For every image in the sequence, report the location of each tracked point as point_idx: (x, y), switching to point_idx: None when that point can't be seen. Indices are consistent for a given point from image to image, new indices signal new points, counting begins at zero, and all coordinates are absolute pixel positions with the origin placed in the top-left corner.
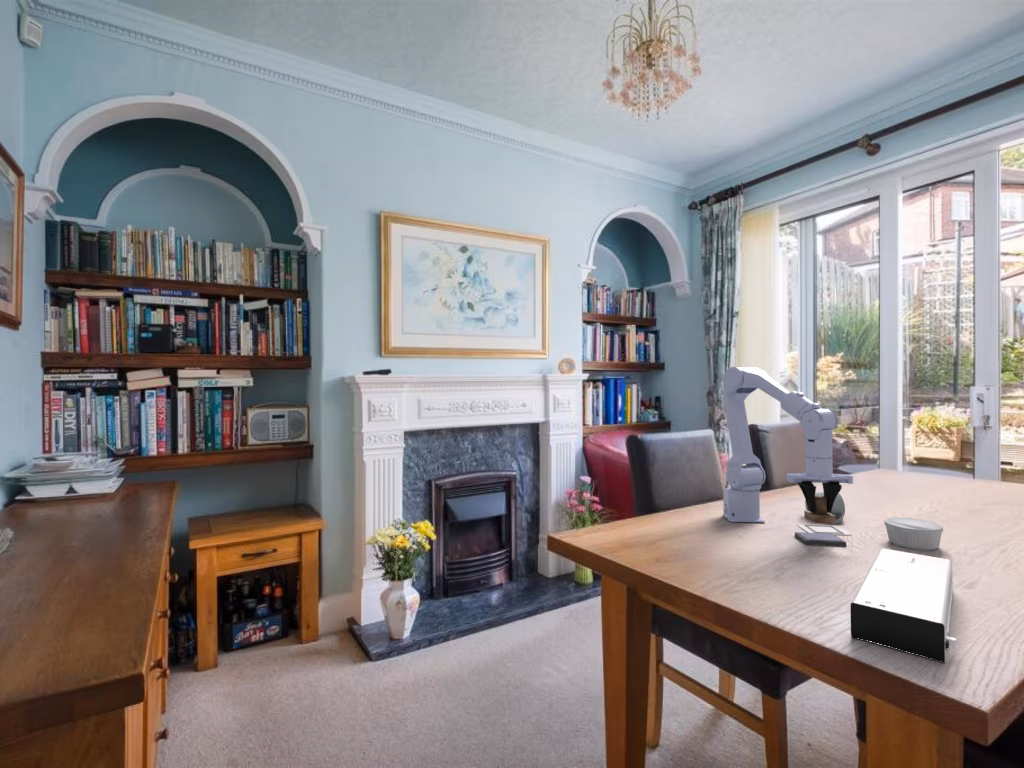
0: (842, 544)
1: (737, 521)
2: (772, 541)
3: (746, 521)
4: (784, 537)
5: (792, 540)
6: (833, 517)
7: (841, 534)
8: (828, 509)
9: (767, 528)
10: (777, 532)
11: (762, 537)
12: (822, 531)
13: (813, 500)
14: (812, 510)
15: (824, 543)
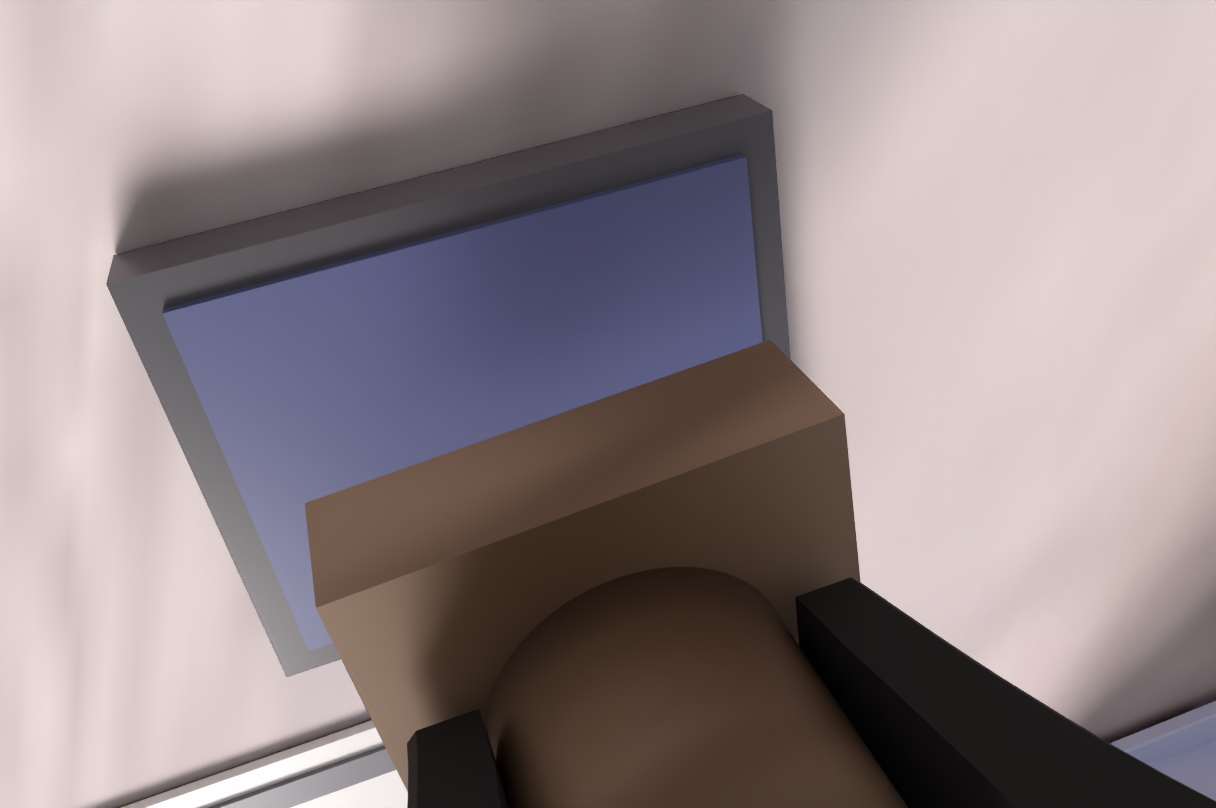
0: (176, 247)
1: (1200, 709)
2: (1135, 107)
3: (1120, 745)
4: (917, 367)
5: (861, 265)
6: (363, 561)
7: (148, 803)
8: (495, 768)
9: (978, 647)
10: (926, 545)
11: (1178, 255)
12: (389, 801)
13: (1049, 791)
14: (868, 603)
15: (477, 170)
